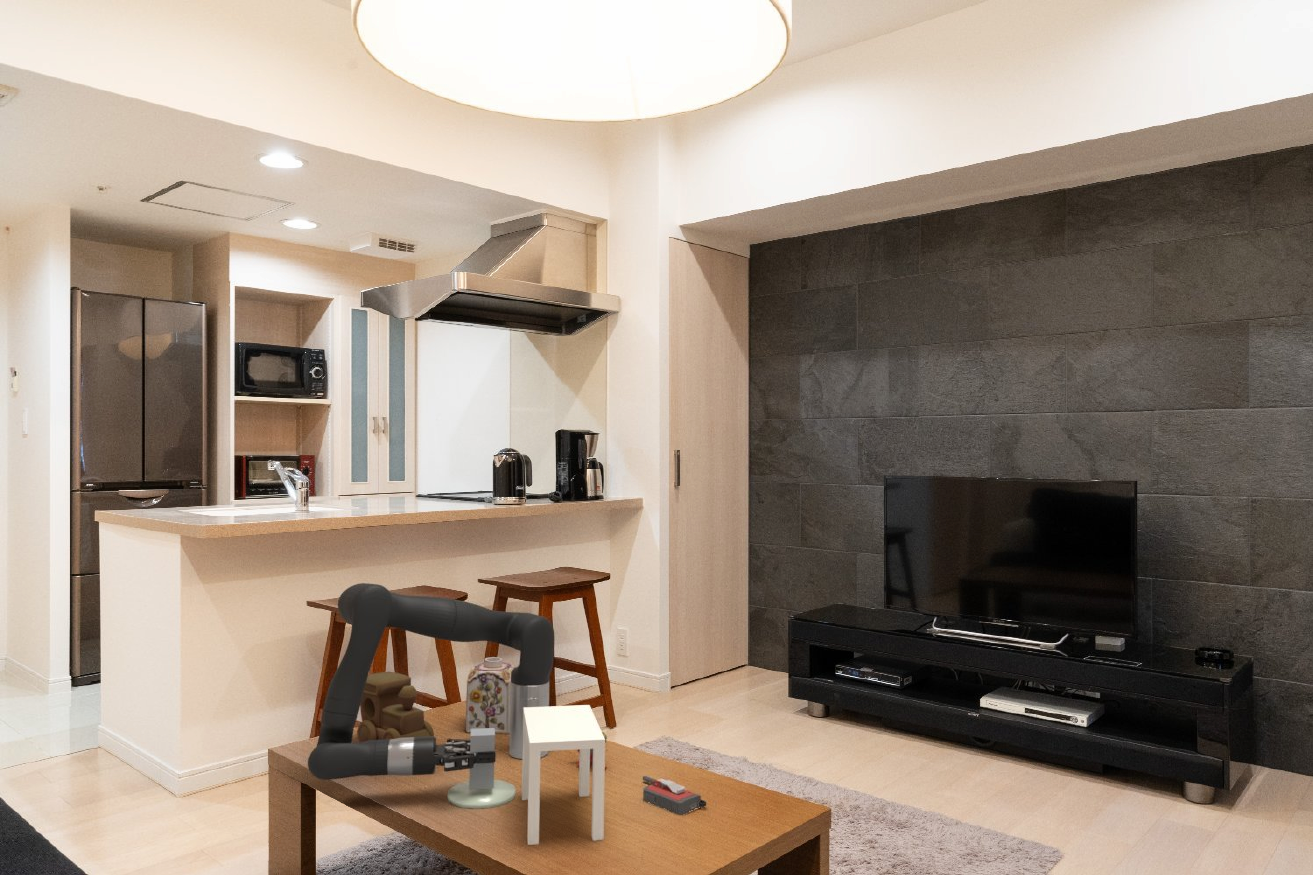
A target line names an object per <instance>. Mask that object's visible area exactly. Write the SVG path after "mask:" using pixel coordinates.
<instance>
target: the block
mask: <svg viewBox="0 0 1313 875" xmlns="http://www.w3.org/2000/svg"><path fill="white" fill-rule="evenodd" d="M469 740H470V752H477V754H478V752H488V751H494V752H495V753H496V734H495V728H479V729H471V733H470V739H469ZM494 780H495V762H494V763H479V764H477V765H474V767H473V768H471V769H469V778H468V781H469V790H470V789H491V788H494Z"/></svg>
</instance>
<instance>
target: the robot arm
mask: <svg viewBox="0 0 1313 875" xmlns="http://www.w3.org/2000/svg"><path fill="white" fill-rule="evenodd" d="M337 609H338V613H339V615H340V616H341V618H342V619H343V620H344V621H345V623H346V622H347V623H348V624H349V625H351V632H350V637H349V641H348V644H347V647H346V650H345V653H344V655H343V656H342V658H341V661H340V662H339V665H338V667H337V668H336V670H335V673H334V674H333V676H332V678H331V680H330V683H329V686H328V689H327V692H326V696H325V699H324V700H325V701H324V704H323V708H322V712H321V717H320V724H321V728H320V732H319V735H318V739H317V744H316V746H315V747H314V748H313V750H312V751H311V752H310V754H309V756H308V759H307V768H308V770H309V773H310V774H311V775H312V776H313V777H315V778H316V779H319V780H322V781H323V780H325V781H326V780H339V779H346V778H347V779H348V778H355V777H360V776H361V777H363V776H364V777H365V776H368V777H375V776H376V777H377V776H379V777H380V776H398V777H406V776H410V777H411V776H427V775H429V776H430V775H434V774H435V772H436V766H441V767H444V768H443V771H444V772H447V773H448V772H455V771H460V770H470V769H471V768H473V767H474V765H477V764H479V763H494V764H495V762H496V758H497V754H496V751H495V752H494V751H488V752H478V754H477V752H470V739H469V738H467V739H466V738H465V739H463V738H462V739H461V738H447V739H446V742H445V743H442V744H437V738H436V736H435V735H434V736H428V737H403V738H396V739H384V740H369V741H365V742H362V743H359V742H353V736H354V735H353V734H354V728H355V725H356V722H357V719H358V716H359V711H360V704H361V700H362V696H363V691H364V688H365V684H366V680H367V677H368V675H369V674H370V670H371V667H372V664H373V661H374V658H375V656H376V653H377V651H378V649H379V648H378V647H379V645H380V642H381V639H382V638H383V635H384V632H385V630H386V628H395V629H400V630H403V631H406V632H411V633H414V634H418V635H421V636H424V637H428V638H432V639H438V640H443V641H451V642H458V643H473V642H490V643H493V644H494V643H495V644H498V645H503V646H506V647H508V648H509V647H510V648H512V649H514V650H516V651H519V653H520V654H519V663H518V666H515V667H516V668H514V669H513V670H512V671H511V698H510V733H509V756H511V757H513V758H515V759H521V760H522V754H523V707H548V706H550V675H551V673H552V670H553V666H554V656H555V654H554V653H555V629H554V626H553V623H552V622H551V621H550V620H549V619H548V618H546V616H545V617H544V616H541V615H538V614H534V613H531V612H517V611H516V612H514V611H503V610H502V611H501V610H500V611H499V610H494V609H490V608H487V607H484V606H482V605H480V604H476V603H473V602H469V601H468V602H467V601H465V600H464V601H463V600H459V599H453V598H447V597H439V596H427V595H426V596H425V595H424V596H423V595H405V594H400V593H395V592H392V591H390V590H389V589H388V588H386V587H385V586H384V585H382V584H377V583H364V582H361V583H357V584H354V585H350V586H349V587H347V588H346V589H345V590H344V591H342V593H341V594H340V596H339V598H338V601H337ZM548 754H549V751H541V752H540V758H543V757H545V756H547V755H548Z"/></svg>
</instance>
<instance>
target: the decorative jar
mask: <svg viewBox="0 0 1313 875" xmlns="http://www.w3.org/2000/svg"><path fill="white" fill-rule="evenodd" d="M483 660H484V662H482V663H478V664H474V665H473V666H471V668H470V670H469V674H468V676H467V680H466V696H465V697H466V698H465V699H466V702H465V706H466V707H465V732H466V733H467V734H471V729H479V728H495V733H500V734H501V733H502V734H503V735H508V734H509V735H510V698H511V671H512V670H513V669H514V668H516V667H517V666H515V665H514V664H511V663H509V662H503V658H501V657H498V656H496V657H495V656H492V657H485V658H484V659H483ZM500 734H499V735H500ZM502 734H501V735H502Z"/></svg>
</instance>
